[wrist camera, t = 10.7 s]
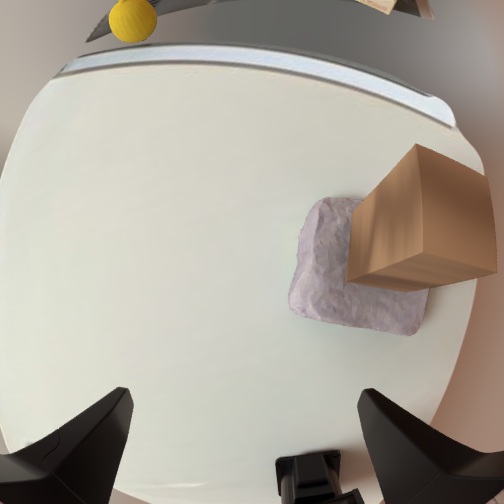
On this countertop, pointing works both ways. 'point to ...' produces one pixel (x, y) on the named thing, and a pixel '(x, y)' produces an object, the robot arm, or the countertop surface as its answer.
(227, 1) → the countertop surface
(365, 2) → the coffeecake box
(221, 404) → the countertop surface
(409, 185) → the walnut block
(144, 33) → the lemon
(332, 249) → the lilac crinkled slab
